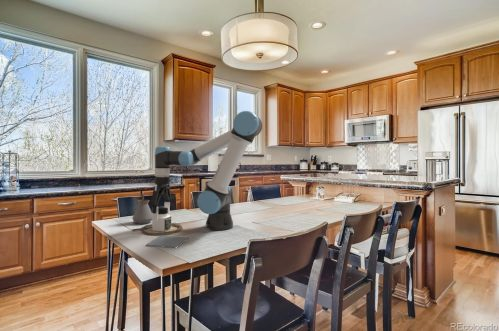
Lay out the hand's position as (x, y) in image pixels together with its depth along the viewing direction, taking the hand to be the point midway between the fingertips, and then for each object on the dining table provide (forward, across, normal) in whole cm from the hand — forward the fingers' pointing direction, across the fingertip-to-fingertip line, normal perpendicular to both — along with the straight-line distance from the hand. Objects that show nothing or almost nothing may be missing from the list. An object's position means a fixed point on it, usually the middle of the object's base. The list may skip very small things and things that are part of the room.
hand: (161, 216), depth 147 cm
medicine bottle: (+7, 0, 0) cm, 7 cm away
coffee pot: (+8, -17, -20) cm, 27 cm away
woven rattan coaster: (+7, 0, 0) cm, 7 cm away
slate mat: (+7, +19, +12) cm, 24 cm away
